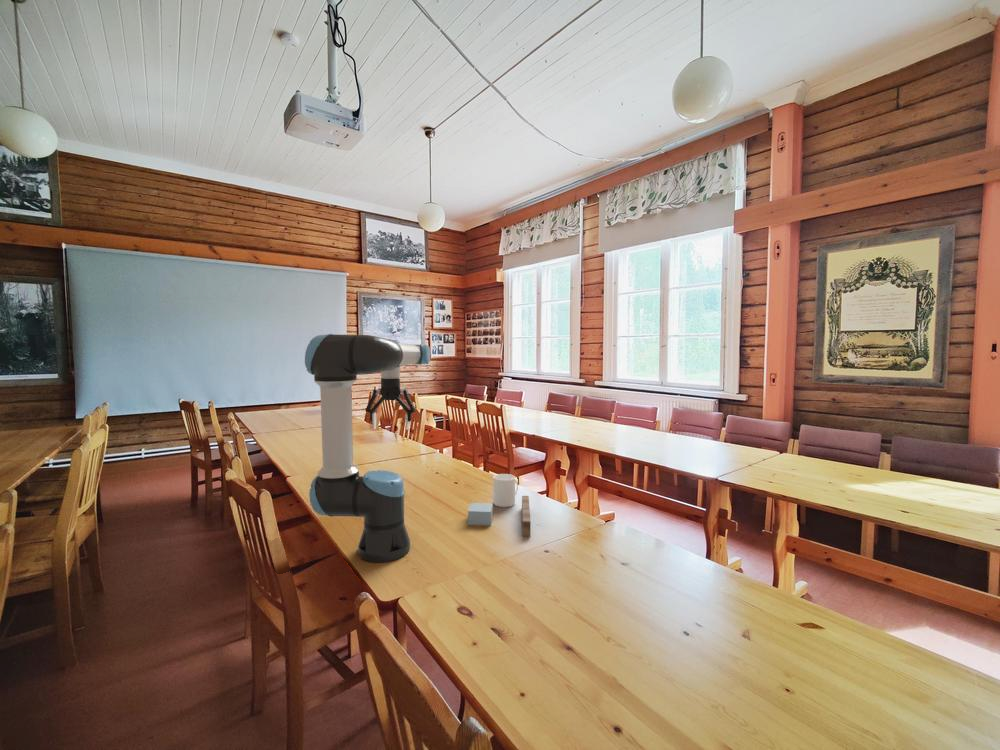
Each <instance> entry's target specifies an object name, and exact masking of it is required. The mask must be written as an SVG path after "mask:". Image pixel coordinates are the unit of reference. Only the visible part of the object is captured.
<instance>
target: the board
mask: <svg viewBox="0 0 1000 750" xmlns="http://www.w3.org/2000/svg"><path fill="white" fill-rule="evenodd" d="M521 523H522V524H521V527H522V529H521V530H522V531H521V532H522V537H531V509H530V497H529V495H521Z"/></svg>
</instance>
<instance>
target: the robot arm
mask: <svg viewBox="0 0 1000 750" xmlns="http://www.w3.org/2000/svg"><path fill="white" fill-rule="evenodd" d="M430 361H431V349H430V346H429V345H427V344H421V343H420V344H412V343H400V341H399V340H397V339H390V338H389V339H388V338H384V337H381V336H375V335H370V334H369V335H368V334H332V333H329V334H328V333H327V334H319V335H316V336H314V337H313V338H312V339H310V340H309V343H308V345H307V346H306V349H305V352H304V365H305V368H306V372H308V373H309V374H310V375H312V376H313V375H314V376H313V377H314V378H313V379H314V383H316V385H318V387H319V388H320V393H319V394H320V418H321V419H320V421H321V448H322V449H321V453H322V454H321V455H322V467H321V468H320V469H319V470H318V471H317V476H315V477H314V478H313V479H312V482H311V483H310V488H309V492H308V493H309V503H310V506H311V509H312V510H313V511H314V512H315V513H316V514H317V515H319V516H327V517H331V518H332V517H350V518H351V517H352V518H353V517H354V518H357V517H359V518H363V530H362V533H361V536H360V539H359V542H358V545H357V554H358V557H359V558H360V559H361V560H363V561H365V562H371V563H386V562H392V561H395V560H399V559H401V558H402V557H404V556H405V555H407V554H408V553H409V552H410V550H411V539H410V536H409V533H408V530H407V528H406V525H405V487H404V479H403V477H402V476H401V475H400V474H398V473H397V472H394V471H389V470H384V469H383V470H382V469H381V470H380V469H379V470H369V471H367V472H365V473H364V474H363V476H360V469H359V467H358V466H357V465H355V464H354V446H353V445H354V439H353V438H354V437H353V432H354V431H353V400H352V394H353V393H352V389H353V388H352V386H353V385H354V383H356V381H357V375H359V376H361V375H362V376H364V375H372V374H377V373H380V377H381V379H380V389H377V388H375V389H373V390H372V395H371V397H370V400H369V401H368V403H367V405H366V407H365V410H364V411H365V412H366V413H367V412H368V413H369V421H370V422H372V425H371V426H372V430H376V429H377V412H376V410H377V409H378V408H379V407H380V406H381V404H382V403H384V402H385V401H392V402H393V401H396V402H397V403H398V404H399V405H400V407H401V408H402V409H403V410H404V411H405V412H406V413H405V414H404V415H405V418H404V419H405V425H404V426H405V430H406V431H408V430H410V422H411V421H412V413H414V412H416V407H415V406H414V405H415V404H414V403H413V401H412V399H411V397H410V395H409V391H408V389H407V388H406V389H401V379H400V376H401V374H400V373H401V366H409V365H410V366H412V365H428V364H429V363H430ZM379 394H380V395H381V397H380V398H379V399H378V401H377V402H376V403H375V404H374V402H375V401H376V399H377V397H378V395H379ZM401 394H402V396H403V397H404V400H405V401H406V403H405V402H404V400H403V399H402V397H401Z"/></svg>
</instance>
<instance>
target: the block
mask: <svg viewBox="0 0 1000 750" xmlns="http://www.w3.org/2000/svg"><path fill="white" fill-rule="evenodd" d="M493 506H494V503H493V502H490V503H486V502H483V503H482V502H470V505H469V507H468V510H467V525H468V526H492V521H493V517H494V515H493V514H494V513H493V511H494V507H493Z"/></svg>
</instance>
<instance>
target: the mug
mask: <svg viewBox="0 0 1000 750" xmlns="http://www.w3.org/2000/svg"><path fill="white" fill-rule="evenodd" d="M492 477H493V479H492V484H493V485H492V486H493V488H492V489H493V490H492V491H493V493H492V494H493V495H492V497H493V498H492V499H493V500H492V501H493V502H492V504H493V505H495V506H496V507H498V506H499V507H500V508H509V507H513V506H514V505H515V503H516V495H517V492H518V489H519V488H518V487H519V484H518V483H519V482H518V481H517V479H516V475H513V474H511V473H498V474H495V475H493V476H492Z"/></svg>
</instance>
